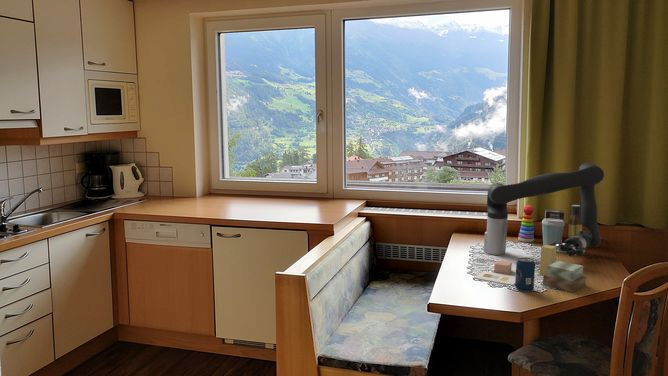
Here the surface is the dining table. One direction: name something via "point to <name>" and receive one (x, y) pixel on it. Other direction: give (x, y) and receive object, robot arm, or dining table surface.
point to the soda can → (525, 274)
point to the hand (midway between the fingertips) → (559, 252)
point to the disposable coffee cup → (552, 230)
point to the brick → (502, 267)
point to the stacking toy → (527, 225)
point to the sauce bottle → (574, 221)
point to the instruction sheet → (496, 277)
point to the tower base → (564, 283)
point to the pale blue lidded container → (555, 216)
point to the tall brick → (547, 258)
